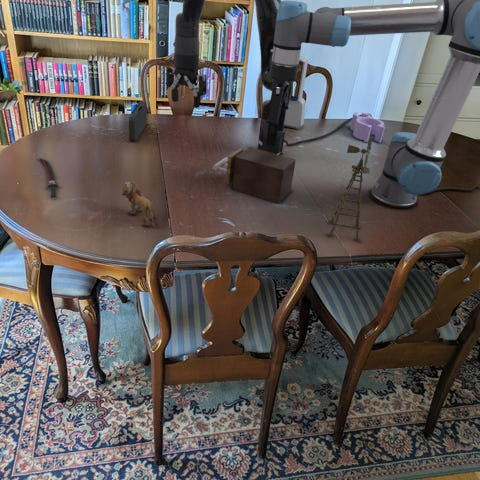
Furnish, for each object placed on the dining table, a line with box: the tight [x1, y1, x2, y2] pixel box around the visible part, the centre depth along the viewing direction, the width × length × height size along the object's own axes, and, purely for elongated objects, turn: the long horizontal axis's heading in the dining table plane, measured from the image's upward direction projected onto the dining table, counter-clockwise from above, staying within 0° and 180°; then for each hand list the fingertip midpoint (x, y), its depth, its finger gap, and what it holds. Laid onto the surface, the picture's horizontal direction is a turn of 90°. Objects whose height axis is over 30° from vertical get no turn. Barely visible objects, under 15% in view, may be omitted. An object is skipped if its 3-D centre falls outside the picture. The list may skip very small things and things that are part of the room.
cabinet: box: [232, 146, 297, 204], centre depth 155 cm, size 17×11×12 cm, turn 64°
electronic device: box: [284, 55, 309, 130], centre depth 208 cm, size 12×8×30 cm, turn 71°
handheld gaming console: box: [128, 100, 148, 142], centre depth 189 cm, size 23×3×10 cm, turn 178°
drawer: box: [212, 147, 245, 185], centre depth 157 cm, size 21×10×10 cm, turn 64°
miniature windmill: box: [329, 134, 373, 241], centre depth 132 cm, size 9×8×30 cm
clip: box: [349, 112, 386, 143], centre depth 214 cm, size 20×12×7 cm, turn 11°
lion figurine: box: [119, 181, 159, 227], centre depth 134 cm, size 15×5×9 cm, turn 50°
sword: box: [40, 158, 59, 198], centre depth 151 cm, size 31×3×1 cm, turn 26°
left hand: (185, 104), depth 150 cm, fingers open, 8 cm apart
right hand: (274, 137), depth 140 cm, fingers open, 13 cm apart
